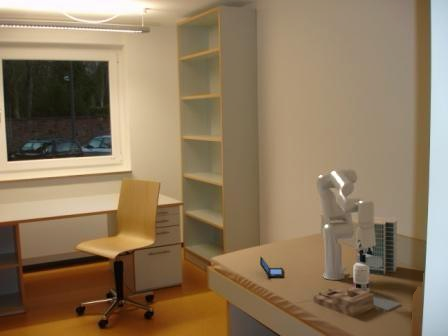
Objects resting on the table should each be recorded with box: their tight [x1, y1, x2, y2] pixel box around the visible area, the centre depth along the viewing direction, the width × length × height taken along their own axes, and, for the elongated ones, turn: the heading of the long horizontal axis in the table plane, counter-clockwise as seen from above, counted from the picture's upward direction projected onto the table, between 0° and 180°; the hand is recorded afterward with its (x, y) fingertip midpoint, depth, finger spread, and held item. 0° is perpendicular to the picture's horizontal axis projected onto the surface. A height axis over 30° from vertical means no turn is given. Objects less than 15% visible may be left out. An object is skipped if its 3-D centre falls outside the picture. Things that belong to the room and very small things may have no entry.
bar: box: [356, 253, 382, 268], centre depth 237 cm, size 12×4×4 cm, turn 35°
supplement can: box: [352, 261, 371, 293], centre depth 254 cm, size 8×8×15 cm
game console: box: [259, 256, 285, 279], centre depth 287 cm, size 16×14×9 cm
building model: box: [362, 216, 398, 275], centre depth 287 cm, size 20×16×30 cm
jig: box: [313, 287, 375, 318], centre depth 238 cm, size 24×16×7 cm, turn 37°
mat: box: [374, 294, 402, 312], centre depth 239 cm, size 11×18×1 cm, turn 37°
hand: (366, 260), depth 238 cm, fingers closed on bar, 4 cm apart
